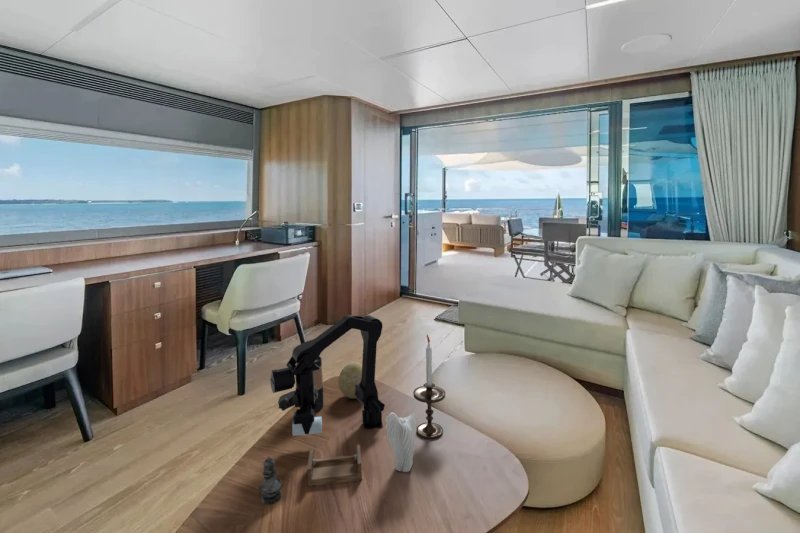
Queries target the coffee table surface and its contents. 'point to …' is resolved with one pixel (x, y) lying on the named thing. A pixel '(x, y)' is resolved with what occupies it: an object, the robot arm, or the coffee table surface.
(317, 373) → the travel mug
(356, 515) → the coffee table surface
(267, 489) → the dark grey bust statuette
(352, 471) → the holder
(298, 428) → the roll
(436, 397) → the candlestick
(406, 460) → the white angel figurine
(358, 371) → the fossilized egg
